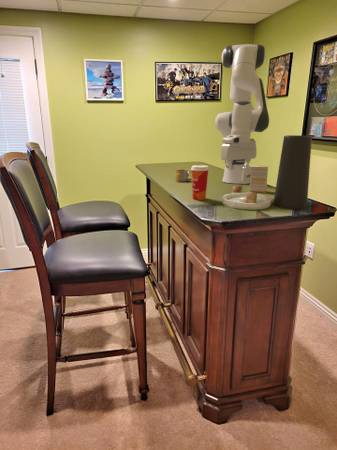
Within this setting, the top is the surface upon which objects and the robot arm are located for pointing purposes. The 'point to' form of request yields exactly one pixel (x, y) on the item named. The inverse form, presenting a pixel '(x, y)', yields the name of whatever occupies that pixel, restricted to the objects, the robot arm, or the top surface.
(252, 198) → the tan egg
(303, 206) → the vase
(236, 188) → the brown egg
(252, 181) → the supplement box
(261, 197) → the tray
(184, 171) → the mug
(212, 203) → the top surface
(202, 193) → the coffee cup
